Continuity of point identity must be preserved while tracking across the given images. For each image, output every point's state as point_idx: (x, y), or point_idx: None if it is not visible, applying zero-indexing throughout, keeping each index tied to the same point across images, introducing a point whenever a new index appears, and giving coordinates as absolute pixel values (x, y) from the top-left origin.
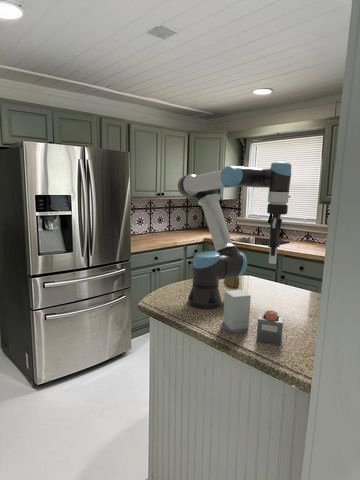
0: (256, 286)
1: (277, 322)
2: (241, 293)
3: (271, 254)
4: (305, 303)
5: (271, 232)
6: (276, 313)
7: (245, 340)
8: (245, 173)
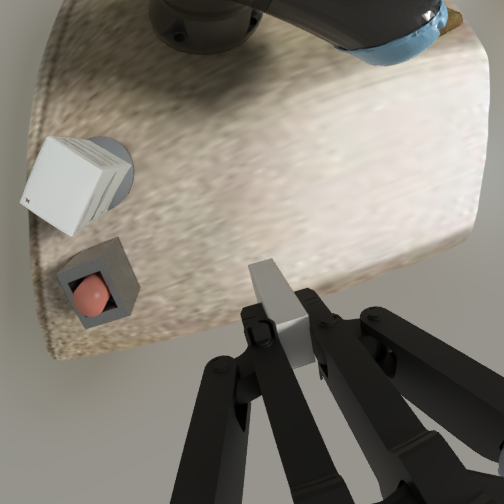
0: (447, 91)
1: (79, 318)
2: (62, 201)
3: (242, 318)
4: (403, 245)
5: (177, 502)
6: (95, 313)
7: (62, 233)
8: None
